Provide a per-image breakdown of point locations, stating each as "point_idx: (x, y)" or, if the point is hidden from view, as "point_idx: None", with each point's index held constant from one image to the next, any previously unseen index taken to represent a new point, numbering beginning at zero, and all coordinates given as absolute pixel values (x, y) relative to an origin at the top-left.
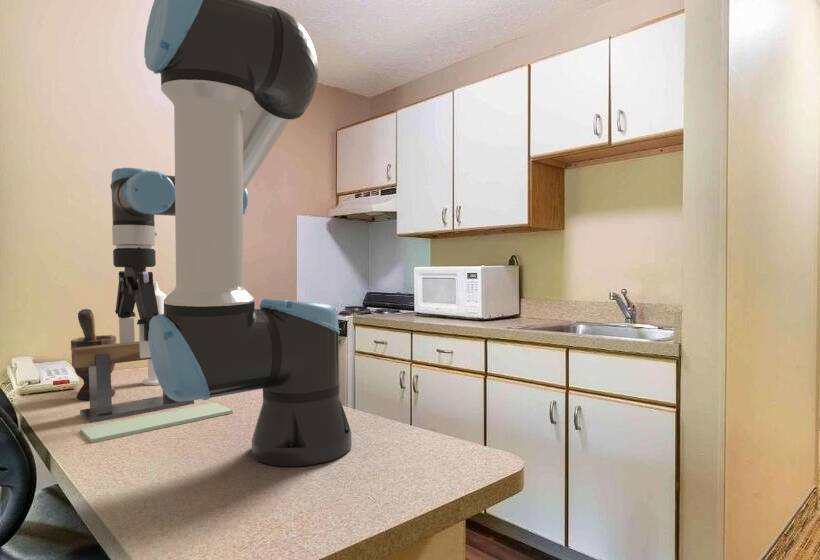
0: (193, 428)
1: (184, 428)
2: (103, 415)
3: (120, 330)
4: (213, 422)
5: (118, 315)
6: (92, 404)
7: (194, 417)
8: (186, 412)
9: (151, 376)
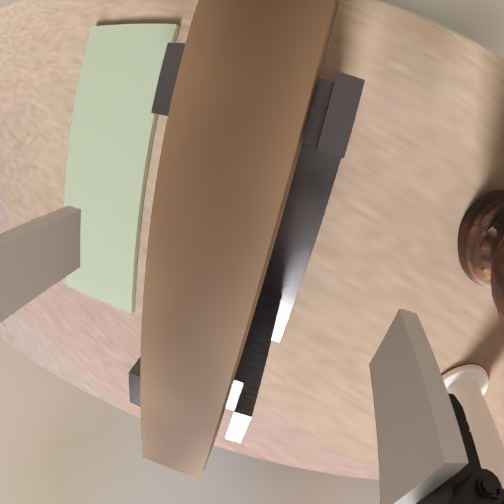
0: (40, 185)
1: (48, 176)
2: None
3: (425, 387)
4: None
5: (482, 482)
6: None
7: None
8: (103, 231)
9: (464, 387)
